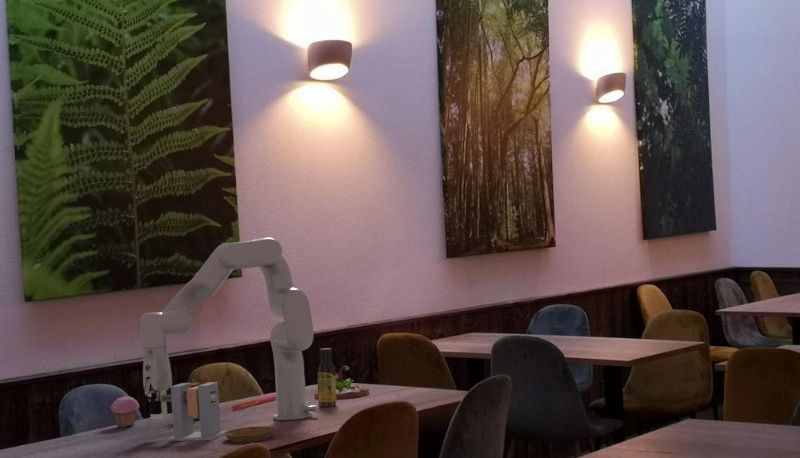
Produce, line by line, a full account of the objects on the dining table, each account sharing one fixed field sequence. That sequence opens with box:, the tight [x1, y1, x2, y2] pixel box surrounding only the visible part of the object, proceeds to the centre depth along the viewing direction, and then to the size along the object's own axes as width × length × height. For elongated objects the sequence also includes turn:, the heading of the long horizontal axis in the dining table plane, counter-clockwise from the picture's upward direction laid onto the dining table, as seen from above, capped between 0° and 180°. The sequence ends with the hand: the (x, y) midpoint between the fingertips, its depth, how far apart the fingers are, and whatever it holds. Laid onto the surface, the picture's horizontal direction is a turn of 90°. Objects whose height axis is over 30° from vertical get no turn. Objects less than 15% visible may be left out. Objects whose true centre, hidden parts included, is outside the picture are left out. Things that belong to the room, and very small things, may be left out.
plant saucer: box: [224, 425, 275, 443], centre depth 319 cm, size 15×15×3 cm
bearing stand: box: [168, 381, 227, 442], centre depth 327 cm, size 14×10×16 cm
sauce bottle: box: [317, 347, 337, 408], centre depth 375 cm, size 7×6×20 cm
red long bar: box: [231, 394, 277, 411], centre depth 390 cm, size 24×2×5 cm
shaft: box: [150, 389, 216, 420], centre depth 328 cm, size 21×3×9 cm, turn 74°
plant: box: [314, 365, 370, 401], centre depth 399 cm, size 20×20×11 cm
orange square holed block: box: [187, 386, 200, 416], centre depth 327 cm, size 3×8×8 cm, turn 164°
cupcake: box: [110, 395, 140, 428], centre depth 357 cm, size 9×9×10 cm
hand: (158, 412), depth 330 cm, fingers closed on shaft, 3 cm apart
